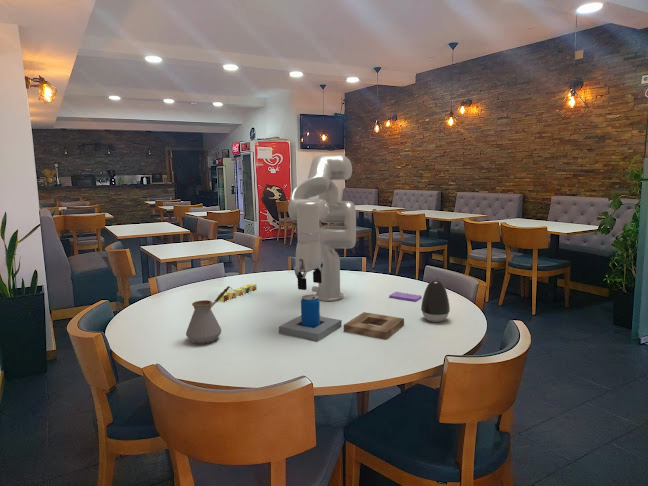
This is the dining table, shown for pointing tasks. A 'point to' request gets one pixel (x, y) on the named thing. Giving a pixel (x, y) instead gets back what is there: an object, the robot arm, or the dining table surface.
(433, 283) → the black rounded egg shape
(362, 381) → the dining table surface
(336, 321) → the socket
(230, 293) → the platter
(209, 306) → the coffee pot
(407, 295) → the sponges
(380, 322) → the socket
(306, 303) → the beverage can
